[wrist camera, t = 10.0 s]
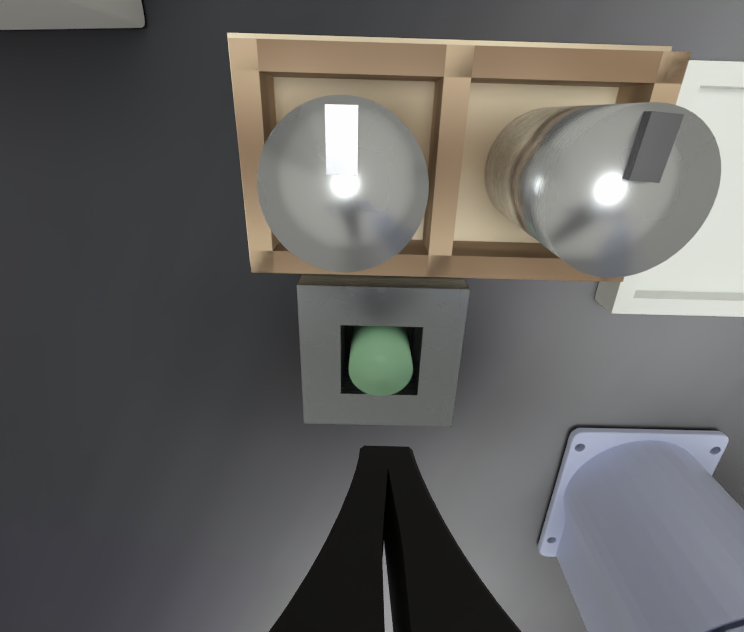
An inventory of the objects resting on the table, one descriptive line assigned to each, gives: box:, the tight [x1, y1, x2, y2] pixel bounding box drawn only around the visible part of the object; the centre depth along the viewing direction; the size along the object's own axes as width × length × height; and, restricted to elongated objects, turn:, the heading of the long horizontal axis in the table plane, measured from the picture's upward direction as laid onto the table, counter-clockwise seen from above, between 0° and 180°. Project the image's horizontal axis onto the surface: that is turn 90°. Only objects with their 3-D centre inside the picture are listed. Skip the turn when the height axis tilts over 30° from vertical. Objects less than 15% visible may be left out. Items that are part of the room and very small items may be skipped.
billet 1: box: [257, 95, 429, 272], centre depth 12 cm, size 4×4×6 cm
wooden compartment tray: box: [227, 33, 691, 282], centre depth 15 cm, size 8×14×3 cm, turn 89°
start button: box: [349, 325, 413, 396], centre depth 18 cm, size 2×2×3 cm
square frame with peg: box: [297, 274, 470, 427], centre depth 18 cm, size 6×6×3 cm
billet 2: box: [485, 102, 721, 278], centre depth 13 cm, size 4×4×6 cm
